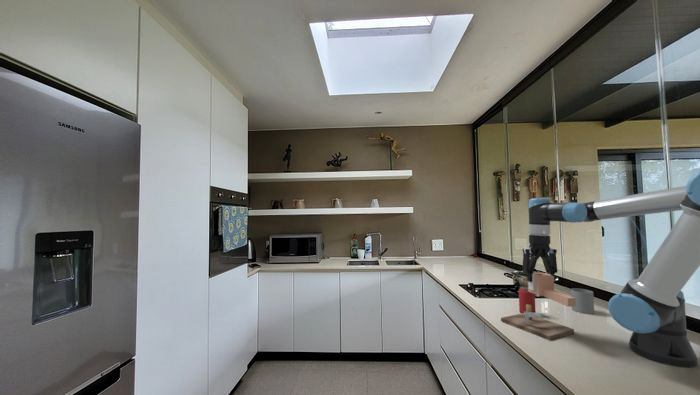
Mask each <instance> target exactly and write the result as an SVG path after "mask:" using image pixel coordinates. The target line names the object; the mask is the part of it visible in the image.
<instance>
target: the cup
mask: <svg viewBox="0 0 700 395" xmlns="http://www.w3.org/2000/svg"><path fill="white" fill-rule="evenodd" d="M570 296H571V297H574V298H575V299H576V306H575V307H571V310H572V311H573V312H576V313H578V312H579V314H584V315H594V314H595V304H594V302H595V301H594V298H595V297H594V291H592V290H589V289H585V288H577V287H576V288H574V287H573V288H570Z"/></svg>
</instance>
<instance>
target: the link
mask: <svg viewBox="0 0 700 395" xmlns="http://www.w3.org/2000/svg"><path fill="white" fill-rule="evenodd" d="M545 273H546V272H533V274H534V275H535V291H533V290H531V289H529V281H527V287H528V291H529V292H531V293H533V294H535V296H538V297H544V298H547V299H549V300H552V301H554V302H556V303H558V304H561V305H564V306H566V307H571V308H572V307H575V306H576V299H575V298H574V297H571V295H567V294H565V293H562V292H560V291H558V290H555V276H554V275H553V276H551V275H548V274H545Z"/></svg>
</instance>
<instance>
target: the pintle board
mask: <svg viewBox="0 0 700 395" xmlns="http://www.w3.org/2000/svg"><path fill="white" fill-rule="evenodd" d="M526 312H532V310H531V305H528V304H526ZM501 321H502V323H505V324H507V325H510V326H512V327H514V328H517V329H519V330H522V331H524V332H527V333H530V334H532V335H535V336H536V337H537V336H538V337H539V338H543V339H545V340H547V341H552V340H555V339H558V338H562V337H566V336H568V335H573V334H574V333H575V329H574V328H572V327H568V326H566V325H562V324H560V323H557V322H553V321H551V320H548V319H545V318H543V317H542V318H534V317H529V324H530V326H529V325H525V314H524V313H521V312H520V313H518V314H513V315H509V316H503V317H500V322H501Z"/></svg>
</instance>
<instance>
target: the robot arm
mask: <svg viewBox="0 0 700 395" xmlns="http://www.w3.org/2000/svg"><path fill="white" fill-rule="evenodd" d="M527 209H528V233H529V235H528V243H529V246H528V247H526V248H522V253H523V256H522V258H523V259H522V269H521V270H522V272H524V273H526V280H527V282H528V281H529V289H531V290H533V291H535V275H534V274H533V273H535V272H534V271H535V268H536V265H537V261H538V260H540V258H541V260H542V263H543V266H544V269H545V272H544V273H545V274H548V275H551V276H554V275H556V274H557V273H558V264H557V263H558V261H557V252H558V251H557V249H555V248H551V246H550V245H551V236H550V235H551V222H562V223H583V222H584V223H590V222H591V223H592V222H594V221H601V220H609V219H610V220H611V219H617V218H626V217H635V216H644V215H645V216H646V215H652V214H661V213H669V212H677V211H682V214H681V215H680V216H679V218H678V219H677V221H676V222H675V223H674V225H673V226H672V228H671V229H670V231H669V232H668V234H667V235H666V237H665V238H664V240H663V241H662V243H661V244H660V246H658V248H657V250H656V251H655V253H654V254H653V256H652V258H651V259H650V260H649V262H648V264H647V265H645V267H644V269H643V271H642V272H641V273H640V275H639V277H638V278H635V279H629V280H628V281H627V282H626V284H625V285H624V286H623V288H622V289H621V291H620V293H617V294H615V295H613V296H612V297H611V298H610V299H609V301H608V303H607V305H608V307H607V309H608V312H609V313H610V315H611V317H612V319H613V320H614V321H615V323H617V324H618V325H619V326H621V327H622V328H624V329H626V330H628V331H630V332H632V333H631V335H630V338H629V340H628V345H629V349H630V350H631V351H632V352H634V353H635V354H637V355H639V356H642V357H644V358H647V359H648V360H652V361H655V362H659V363H661V364H666V365H670V366H676V367H681V368H682V367H683V368H694V367H698V365H699V364H698V363H699V362H698V356H697V354H696V352H695V350H694V348H693V346H692V344H691V342H690V340H689V338H688V333H687V331H688V330H687V319H686V318H687V317H686V304H685V303H686V299H685V296H684V292H683V291H682V290H683V289H684V287H685V286H686V284H687V283H688V281H689V280H690V279H691V278H692V276H693V275H694V274H695V272H696V271H697V270H698V268H699V267H700V170H699V171H697V172H696V173H694V174H693V175H692V176H691V177H690V178H689V179H688V181H687V183H686V185H682V186H677V187H671V188H666V189H665V188H664V189H659V190H654V191H648V192H647V191H646V192H642V193H641V192H640V193H636V194H630V195H624V196H617V197H613V198H607V199H600V200H595V201H589V202H572V201H571V202H551V200H550V198H546V197H543V198H541V197H540V198H538V197H537V198H536V197H535V198H530V199H528V208H527Z"/></svg>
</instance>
